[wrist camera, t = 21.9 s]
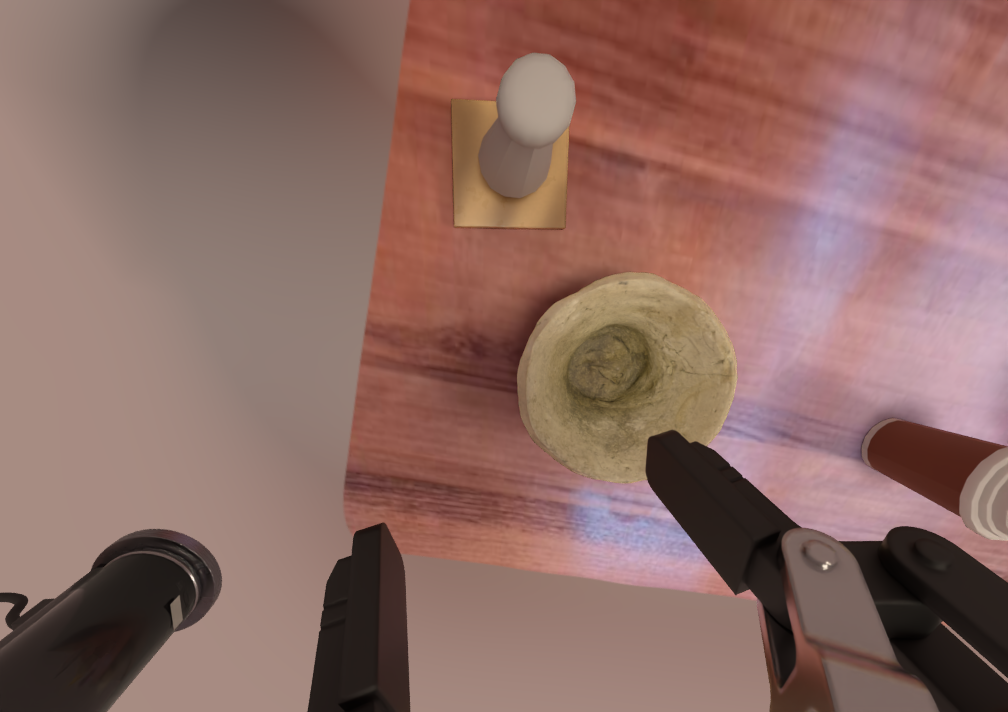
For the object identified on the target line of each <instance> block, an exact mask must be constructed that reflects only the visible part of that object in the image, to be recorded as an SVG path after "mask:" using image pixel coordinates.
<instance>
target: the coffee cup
mask: <svg viewBox="0 0 1008 712" xmlns="http://www.w3.org/2000/svg"><path fill="white" fill-rule="evenodd" d="M861 449H862V458H863V460H864V462H865V463H866V465H868V466H869V467H871V468H873V469H874V470H877V471H879V472H881V473H882V474H884V475H886V476H888V477H890V478H891V479H893V480H895V481H897V482H899V483H900V484H902V485H904V486H906V487H908V488H909V489H911V490H913V491H915V492H917V493H918V494H920V495H922V496H924V497H926V498H928V499H929V500H931V501H933V502H935V503H937V504H938V505H940V506H942V507H944V508H946V509H947V510H949V511H951V512H953V513H955V514H956V515H958V516H960V517H961V518H962V520H963V522H964V524H965V526H966V527H967V528H969V529H970V530H972V531H974V532H975V533H977V534H979V535H981V536H983V537H985V538H987V539H992V540H1008V447H1007V446H1004V445H1000V444H996V443H992V442H988V441H984V440H980V439H976V438H972V437H968V436H964V435H960V434H956V433H952V432H948V431H944V430H940V429H936V428H932V427H928V426H924V425H920V424H916V423H912V422H908V421H905V420H902V419H895V418H891V419H887V420H884V421H881V422H879V423H878V424H877V425H875V426H874V427H872V428H871V430H870V431H869V432H868V434H867V435H866V436H865V438H864V441H863V444H862V447H861Z"/></svg>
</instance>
